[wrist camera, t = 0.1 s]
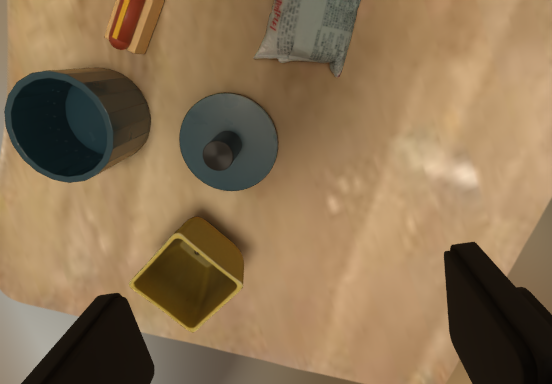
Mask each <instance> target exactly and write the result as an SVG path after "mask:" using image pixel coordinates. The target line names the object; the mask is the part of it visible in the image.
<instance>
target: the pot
mask: <svg viewBox="0 0 552 384" xmlns="http://www.w3.org/2000/svg"><path fill="white" fill-rule="evenodd" d="M4 112H5V123H6V129H7V132H8V134H9V137H10V139H11V142H12V144H13V146H14V148H15V149H16V150H17V152H18V153H19V155H20V156H21V157H22V159H24V161H25V162H26V163H28V164H29V165H30V166H31V167H32V168H33V169H35V170H36V171H37V172H39V173H41V174H43V175H45V176H47V177H49V178H51V179H53V180H58V181H63V182H68V183H71V182H80V181H85V180H87V179H89V178H91V177H93V176H95V175H97V174H99V173H101V172H103V171H104V170H106V169H108V168H110V167H111V166H113V165H115V164H117V163H119V162H120V161H122V160H124V159H126V158H127V157H129V156H131V155H133V154H134V153H135V152H137V151H138V150H139V149H140V148H141V147H142V146H143V144H144V143H145V141H146V139H147V137H148V134H149V130H150V112H149V108H148V105H147V102H146V100H145V98H144V96H143V94H142V93H141V91H140V90H139V89H138V87H137V86H136V85H135V84H134V83H133V82H132V81H131V80H129V79H128V78H127V77H125V76H124V75H122V74H120V73H118V72H116V71H113V70H110V69H105V68H83V69H66V70H49V71H42V72H35V73H31V74H29V75H28V76H26V77H24V78H23V79H21V80H19V81H18V82H17V83H16V85H15V86H14V87H13V89H12V90H11V92H10V93H9V95H8V98H7V102H6V106H5V111H4Z"/></svg>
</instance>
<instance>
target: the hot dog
mask: <svg viewBox="0 0 552 384" xmlns="http://www.w3.org/2000/svg"><path fill="white" fill-rule="evenodd" d="M164 1H165V0H116V2H115V5H114V9H113V12H112V15H111V18H110V21H109V24H108V27H107V30H106V33H105V36H104V37H105V38H106V39H108V40H109V41H110V43H111V45H112V46H113V47H114V48H116V49H119V50H124V49H126V50H128V51H130V52H132V53H134V54H145V52H146V50H147V47H148V44H149V41H150V39H151V36H152V33H153V31H154V28H155V25H156V22H157V20H158V17H159V14H160V12H161V9H162V6H163V3H164Z"/></svg>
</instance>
